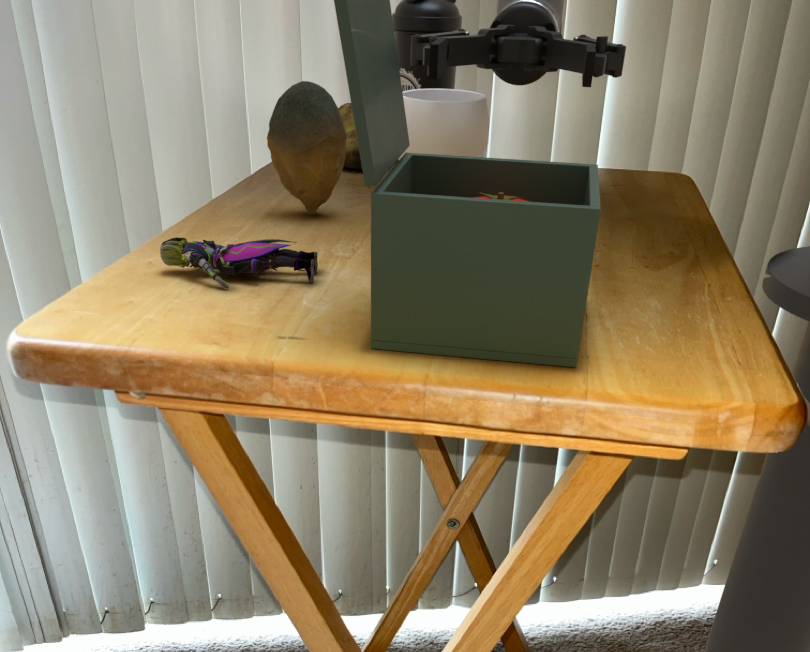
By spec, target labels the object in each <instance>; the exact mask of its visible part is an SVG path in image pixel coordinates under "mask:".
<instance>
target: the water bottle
mask: <svg viewBox="0 0 810 652" xmlns="http://www.w3.org/2000/svg"><path fill="white" fill-rule="evenodd" d="M456 2H457V0H401V1H400V2H399V3H398V4H397V5H396V7H395V9H394V10H395V11H394V12H393V13H392V20H393V27H394V34H395V42H396V49H397V56H398V63H399V71H400V78H401V85H402V92H403V91H407V90H414V89H455V86H456V75H457V74H456V72H457V66H453V67H446V71H445V72H444V73H443V74H442V75H441V76H440V77H439V78H438V79H429V76H427V71H428V66H425V65H423V66H419V67H414V66H412V65H410V64H411V36H412V35H415V34H419V35H426V34H435V33H444V32H452V31H455V30H459V29H462V24H463V15H461V14H460V10H459V8H458V6H457V5H456ZM398 161H399V160H397V161H396V162H395V163H397V162H398Z"/></svg>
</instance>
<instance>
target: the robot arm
mask: <svg viewBox="0 0 810 652" xmlns="http://www.w3.org/2000/svg"><path fill="white" fill-rule="evenodd" d="M564 3H565V0H497V8H496V16H495V17H494V19H493V21H492V23H491V24H490V26H489V27H488V28H480V29H479V30H478V32H477V34H470V31H468V30H466V29H464V28H461V29H459V30H455V31H452V32H444V33H435V34H426V35H419V34H415V35H412V36H411V64H410V65H412V66H414V67H419V66H423V65H425V66H428V71H427V76H429V79H438V78H439V77H440V76H441V75H442V74H443V73H444V72H445V71H446V67H453V66H456V67H462V66H474V65H475V66H476V68H477V69H484V70H492V72H493V73H494V74H495V75H496V77H497V78H498V79H500V80H501V81H503V82H504V83H506V84H509V85H513V86H526V85H530V84H533V83H535V82H537V81H539V80H540V79H541V78H543V77H544V76H545V75H546V74H547V73H556V72H558V71H559V70H562V71H567V72H572V73H577V74H582V75H581V87H582V88H592V82H593V78H599V77H603V76H604V75H606V76H610V77H612V78H615V79H616V78H620V77H622V76H623V71H624V65H625V57H626V51H627V46H626V45H625V44H623V43H614V42H610V41H609V36H608V35H605V36H603V35H602V36H601V35H600V36H596V38H592V37H591V36H588V35H586V34H580V35H577V36H573V38H572V39H566V38H563V34H562V28H563V21H562V20H563V10H564Z"/></svg>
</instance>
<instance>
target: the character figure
mask: <svg viewBox="0 0 810 652" xmlns="http://www.w3.org/2000/svg"><path fill="white" fill-rule="evenodd" d="M288 243H295V244H296V243H297V241H291V240H284V239H278V238H277V239H274V238H273V239H272V238H271V239H270V238H269V239H258V240H251V241H244V242H240V243H239V242H238V243H236V244H234V243H231V244H229V243H228V244H226V246H225V245H221V244H218V243H216V242H215V241H214V240H206V239H202V241H197V240H193V241H189V240H188V239H187V238H186V237H177V236H175V237H172V238H169V239H166V240H164V241H163V242H162V243H161V245H160V247H159V249H160V251H159V255H160V259H161V261H162V262H163V263H164V264H165V265H166V266H170V267H179V268H183V269H184V268H186V267H187V268H188V267H190V268H192V267H193V268H194V269H195V270H197V271H202V270H203V271H204V272H205V273H206V274H208V275H209V276H210V277H211V279H212V280H214V281H216V282H217V283H218V284H219V286H221V287H223V288H226V289H230V285H229V284H228V282H227V281H226V280H223V279H222V278H221V277H220V276H219V275H218V274H217V273H216V272H215V270H216V271H217V270H218V271H219V272H220V273H221V274H222V275H232V276H236V275H238V274H244V273H245V274H246V273H247V274H248V273H250V274H251V273H252V274H255V275H256V274H260V273H262V272H264V271H268V270H273V271H275V272H278V270H277V269H279V268H292V269H293V271H298V272H306V274H307V280H308V282H310V283H314V279H315V274H317V273H318V266H319V262H318V251H310V252H308V251H304V250H300V249H299V251H298V250H294V249H290V248H287V247H291V246H292V244H288Z"/></svg>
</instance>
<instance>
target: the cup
mask: <svg viewBox="0 0 810 652" xmlns="http://www.w3.org/2000/svg"><path fill="white" fill-rule="evenodd" d="M402 93H403V100H404V107H405V114H406V122H407V129H408V136H409V144H410V146H409V147H408V148H407V149H406V150H405V152H404V153H403V154H402V155H401V156H400V158H401V157H402V156H403V155H404V154H405V153H421V154H437V155H453V156H469V157H484V155H485V153H486V149H487V147H488V144H489V143H488V142H489V130H490V115H489V108H488V107H489V106H488V100H487V95H485V94H484V93H481V92H477V91H472V90H465V89H455V88H454V89H414V90H407V91H403V92H402ZM400 158H399V159H398V160H400Z"/></svg>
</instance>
